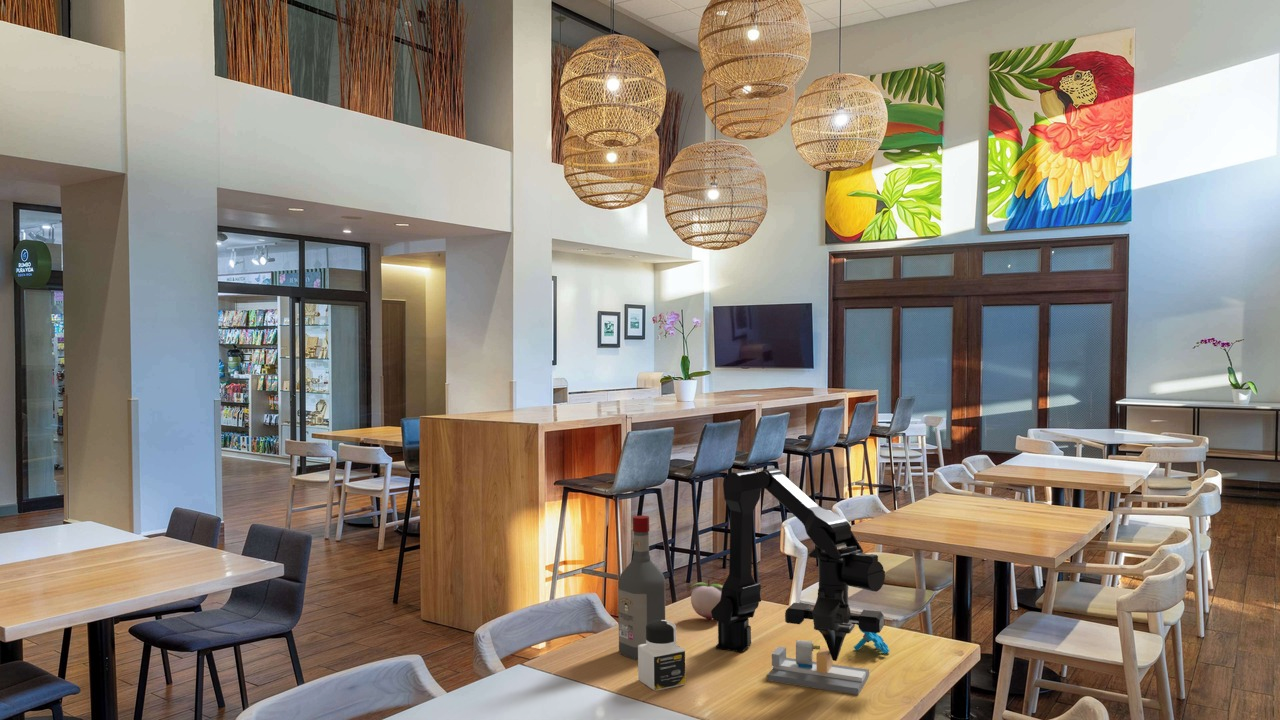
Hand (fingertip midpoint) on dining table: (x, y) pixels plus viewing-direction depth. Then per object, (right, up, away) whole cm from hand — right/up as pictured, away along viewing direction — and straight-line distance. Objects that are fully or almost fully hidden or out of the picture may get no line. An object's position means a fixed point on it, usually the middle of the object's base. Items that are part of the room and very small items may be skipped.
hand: (835, 660), depth 168 cm
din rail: (-3, -4, +1) cm, 5 cm away
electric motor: (-5, -2, +3) cm, 6 cm away
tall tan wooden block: (-2, -2, +1) cm, 3 cm away
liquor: (-39, -5, +18) cm, 43 cm away
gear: (+12, -4, +17) cm, 22 cm away
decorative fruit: (-22, -5, +41) cm, 46 cm away
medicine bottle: (-35, -5, 0) cm, 35 cm away
